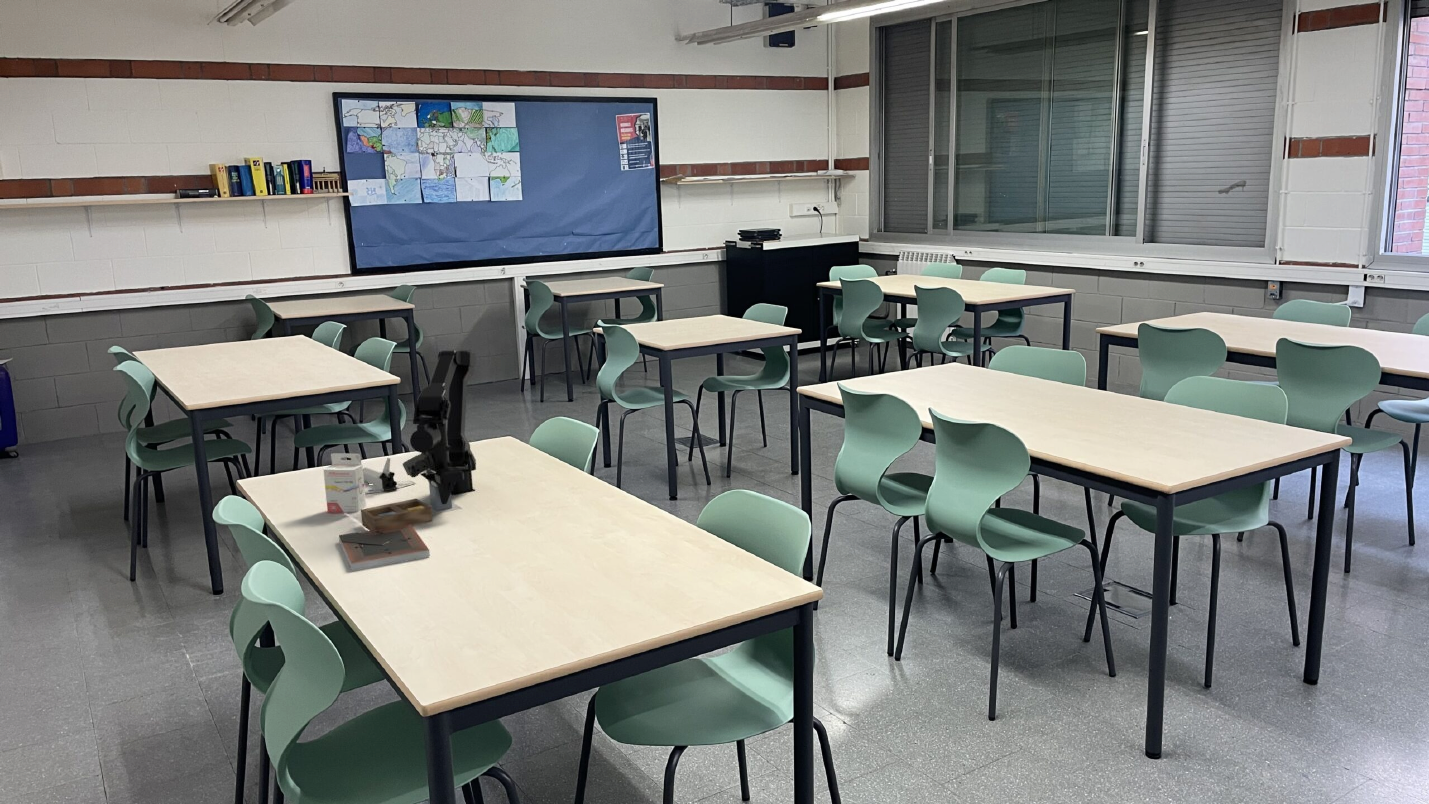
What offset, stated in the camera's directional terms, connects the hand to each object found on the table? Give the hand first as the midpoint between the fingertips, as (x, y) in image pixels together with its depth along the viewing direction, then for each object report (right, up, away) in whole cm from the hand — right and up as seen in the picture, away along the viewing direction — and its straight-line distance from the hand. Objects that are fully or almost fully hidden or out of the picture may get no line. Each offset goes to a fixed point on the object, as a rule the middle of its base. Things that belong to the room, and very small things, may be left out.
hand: (441, 502), depth 261 cm
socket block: (-8, -4, -10) cm, 14 cm away
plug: (0, -1, 0) cm, 2 cm away
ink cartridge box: (-25, -3, +2) cm, 25 cm away
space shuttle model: (-25, +2, +28) cm, 38 cm away
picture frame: (-6, -9, -28) cm, 30 cm away
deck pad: (0, -2, 0) cm, 2 cm away
